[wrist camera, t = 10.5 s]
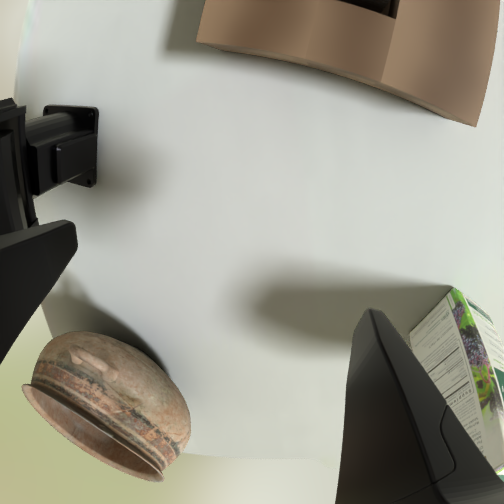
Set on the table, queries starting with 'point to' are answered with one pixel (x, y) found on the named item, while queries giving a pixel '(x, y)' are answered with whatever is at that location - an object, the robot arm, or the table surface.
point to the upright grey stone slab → (369, 4)
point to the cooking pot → (111, 402)
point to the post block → (372, 44)
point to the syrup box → (466, 369)
